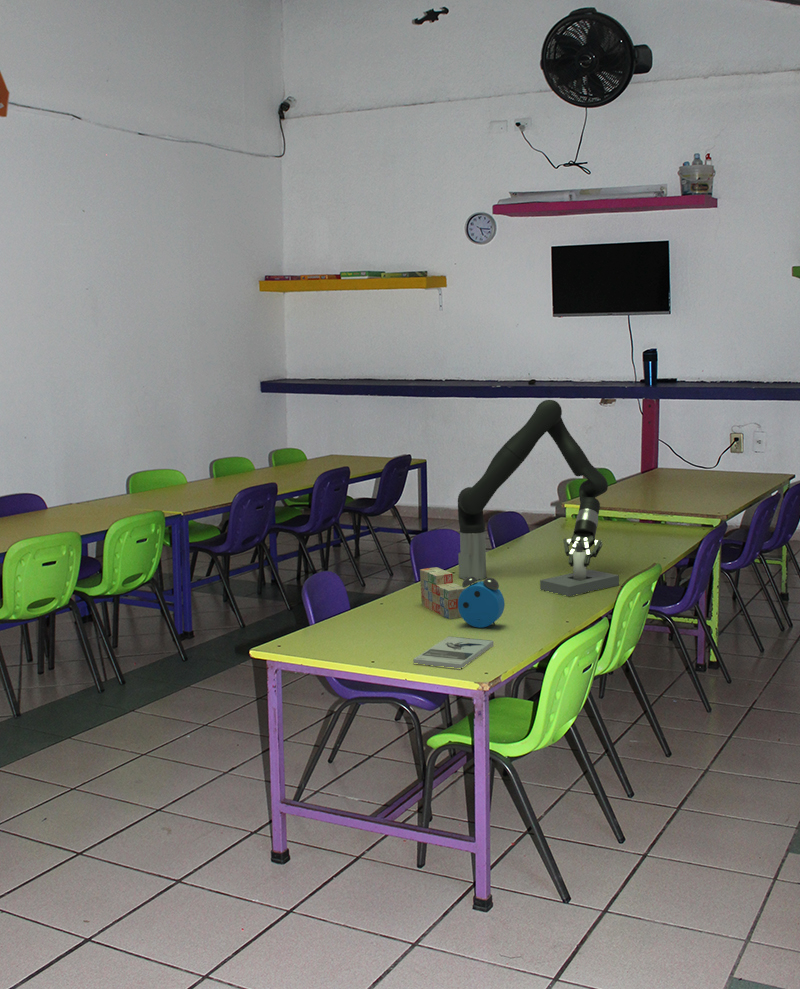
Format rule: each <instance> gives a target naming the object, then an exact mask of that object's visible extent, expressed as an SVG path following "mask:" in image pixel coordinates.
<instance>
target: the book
mask: <svg viewBox="0 0 800 989" xmlns="http://www.w3.org/2000/svg"><path fill="white" fill-rule="evenodd" d="M490 647H491V648H492V647H494V640H490V639H481V638H480V639H479V638H472V637H471V638H470V637H461V636H451V635H450V636H446V637H445V638H444V639H442V640H440V641H439V642H437V643H436V644H435V645H432V646H431V647H430V648H428V649H426V650H425V651H424V652H422V653H420V654H419V655H417V656H416V657H414V658H413V660H412V661H413V664H414V663H418V664H425V665H433V666H444V667H454V668H462V667H464V666H465V665H466V664H468V663H469V662H471V661H472V660H473V661H475V660H476V659H477V658H476V657H478V656H479V655H480V656H482V655H483V654H484V653H486V652H487V651H489V648H490ZM491 648H490V649H491ZM486 650H487V651H486ZM485 651H486V652H485ZM483 652H484V653H483ZM482 653H483V654H482ZM481 654H482V655H481ZM480 656H479V657H480ZM479 657H478V658H479ZM475 658H476V659H475ZM474 659H475V660H474ZM473 661H472V662H473ZM472 662H471V663H472ZM469 664H470V663H469ZM469 664H468V665H469ZM433 666H432V667H433ZM465 667H466V666H465ZM465 667H464V668H465Z"/></svg>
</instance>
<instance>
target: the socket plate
mask: <svg viewBox="0 0 800 989" xmlns="http://www.w3.org/2000/svg"><path fill="white" fill-rule="evenodd" d="M618 586H620V576H619V575H618V574H614V573H609V572H605V571H599V570H594V569H589V568H588V569H586V579H585V580H581V581H579V580H574V579H573V572H570V573H566V574H563V575H557V576H553V577H549V578H548V577H547V578H544V579H539V587H540V588H539V589H541V590H540V591H542V590H545V591H544V592H546V591H549V592H548V593H550V592H553V593H552V594H555V593H558V594H557V595H559V594H562V595H561V596H563V595H566V596H565V597H567V596H572V597H574V596H573V595H576V594H580V595H582V594H581V593H585V592H588V591H593V590H597V591H599V590H598V589H601V590H604V589H603V588H606V589H609V587H610V588H614V587H618ZM593 592H594V591H593ZM585 594H586V593H585ZM576 596H577V595H576Z"/></svg>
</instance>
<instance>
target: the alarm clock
mask: <svg viewBox="0 0 800 989" xmlns="http://www.w3.org/2000/svg"><path fill="white" fill-rule="evenodd" d="M461 587H463V588H465V589H464V590H463V591H462V593H461V594H460V596H459V599H458V610H459V613H460V615H461V617H460V618H462V619H463V621H464V622H466V623H467V624H468V625H469V626H472V627H474V628H477V629H478V628H479V629H480V628H487V627H489V626H491V625H492V624H493V625H494V626H495V625H496V621H497V620H499V619H500V618H501V617H502V615H503V613H504V610H505V598H504V595H503V593H502V592H501V590H500V589H499V587H500V584H499V582H498V580H496V579H495V578H493V577H486V578H484V580H483V579H479V580H477V579H476V578H475V577H468V578H467V577H466V579H463V581H462V584H461Z"/></svg>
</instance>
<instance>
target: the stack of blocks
mask: <svg viewBox="0 0 800 989" xmlns="http://www.w3.org/2000/svg"><path fill="white" fill-rule="evenodd" d="M419 576H420V591H421V592H420V594H421V595H420V596H421V598H420V599H421V605H422V606H423V607H425V608H426V609H429V610H431V611H433V612H434V613H437V614H438V615H440V616H442V617H444V618H445V619H447V620H451V619H452V620H453V619H459V618H462V617H461V615H460V613H459V610H458V599H459V596H460V594H461V593H462V591H463V590H464V589H465V588H466V587H465V588H463V587H462V585H459V584H457V583H455V582H454V580H453V579H454V578H453V576H454V575H453V573H452V572H449V571H447V570H446V569H445V570H444V569H442V568H440V567H428V568H427V567H426V568H422V569H419Z"/></svg>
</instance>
